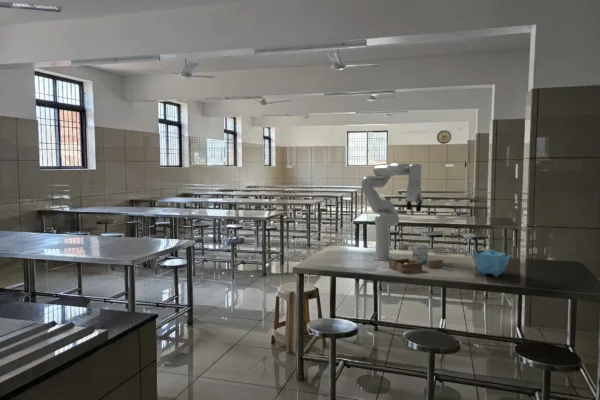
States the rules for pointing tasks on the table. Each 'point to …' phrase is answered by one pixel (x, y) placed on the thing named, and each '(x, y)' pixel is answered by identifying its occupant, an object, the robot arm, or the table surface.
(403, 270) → the box
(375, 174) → the robot arm
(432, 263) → the lid
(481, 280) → the table surface
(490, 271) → the teakettle
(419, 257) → the ink box
